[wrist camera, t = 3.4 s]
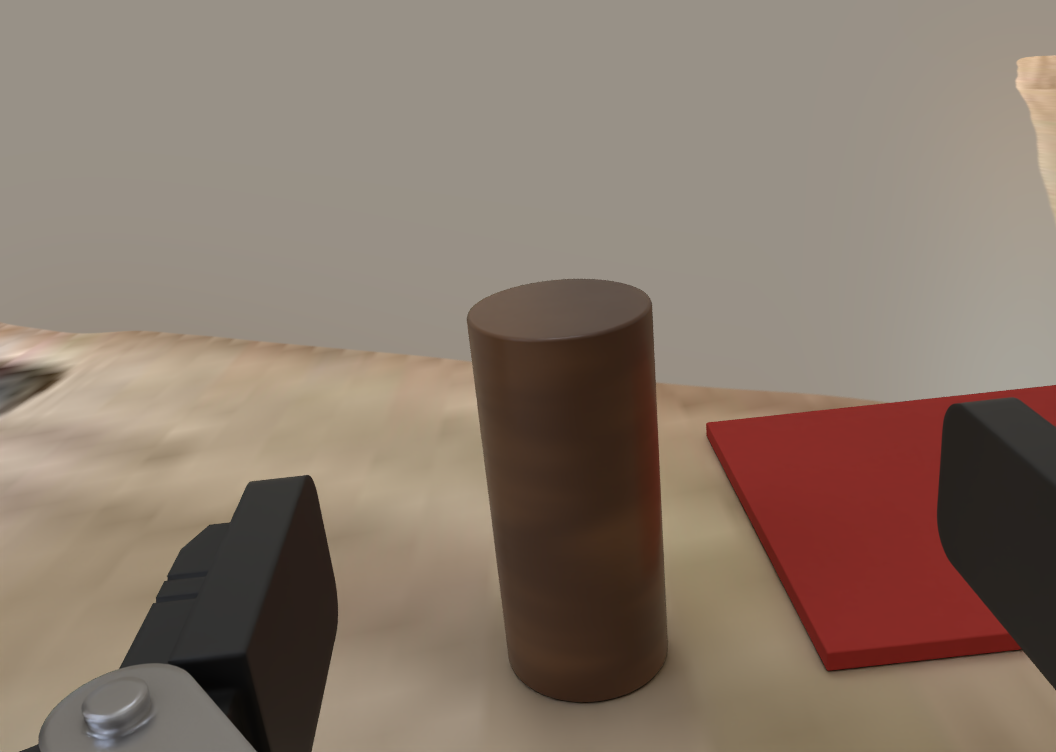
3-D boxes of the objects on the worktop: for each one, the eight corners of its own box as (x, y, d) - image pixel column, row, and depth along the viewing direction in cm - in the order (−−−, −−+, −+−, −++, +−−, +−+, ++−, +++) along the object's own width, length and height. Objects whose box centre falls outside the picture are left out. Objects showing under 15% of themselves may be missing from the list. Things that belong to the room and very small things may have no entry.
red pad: (826, 671, 25) (827, 652, 25) (706, 436, 38) (705, 422, 38) (1433, 604, 25) (1440, 584, 25) (1109, 392, 38) (1111, 378, 38)
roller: (511, 712, 25) (465, 348, 21) (506, 609, 29) (466, 288, 25) (682, 693, 25) (667, 326, 21) (652, 592, 29) (636, 270, 25)
